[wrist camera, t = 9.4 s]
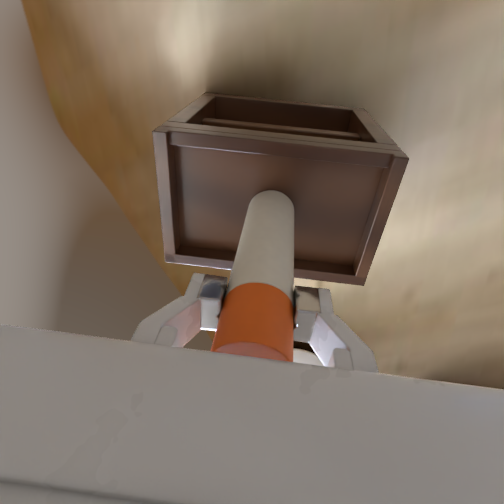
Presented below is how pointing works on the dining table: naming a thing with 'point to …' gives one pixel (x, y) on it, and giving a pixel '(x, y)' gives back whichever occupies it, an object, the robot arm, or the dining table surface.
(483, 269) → the dining table surface
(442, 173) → the dining table surface
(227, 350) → the marker
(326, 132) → the small wooden shelf
